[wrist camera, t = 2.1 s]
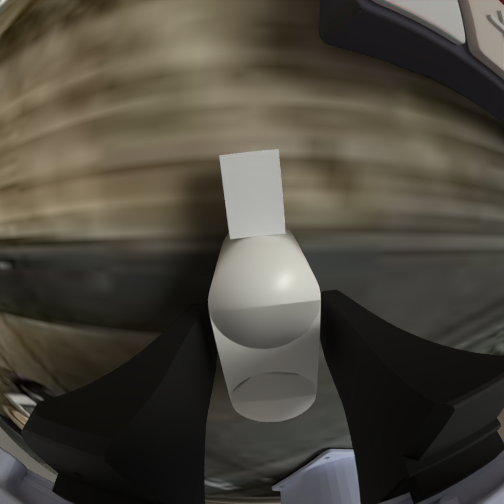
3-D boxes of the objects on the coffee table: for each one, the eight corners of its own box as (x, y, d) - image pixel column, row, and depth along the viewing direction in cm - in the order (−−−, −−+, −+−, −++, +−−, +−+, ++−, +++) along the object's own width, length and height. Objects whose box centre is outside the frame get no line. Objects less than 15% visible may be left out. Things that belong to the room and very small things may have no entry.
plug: (301, 358, 12) (314, 416, 9) (239, 364, 12) (237, 424, 9) (291, 148, 9) (315, 146, 6) (206, 157, 9) (182, 160, 6)
